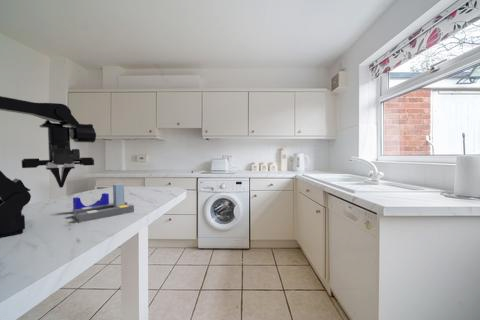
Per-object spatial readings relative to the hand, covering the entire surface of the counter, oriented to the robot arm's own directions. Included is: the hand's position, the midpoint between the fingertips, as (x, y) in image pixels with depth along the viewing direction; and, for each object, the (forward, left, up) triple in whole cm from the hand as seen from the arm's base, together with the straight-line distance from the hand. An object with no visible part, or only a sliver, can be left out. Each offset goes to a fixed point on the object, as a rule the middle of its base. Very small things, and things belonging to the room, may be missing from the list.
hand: (61, 187), depth 75 cm
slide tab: (+18, 0, -11) cm, 21 cm away
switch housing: (+13, 0, -12) cm, 18 cm away
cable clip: (+11, +12, -12) cm, 20 cm away
